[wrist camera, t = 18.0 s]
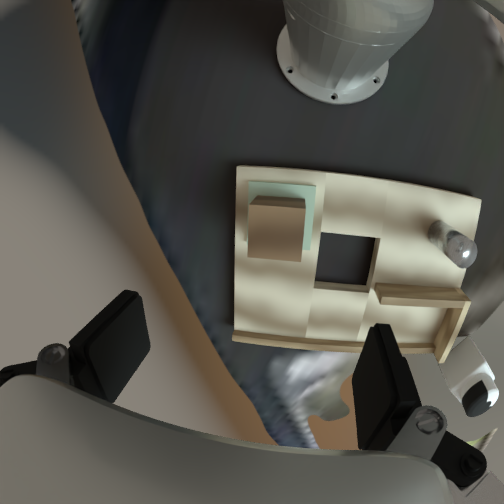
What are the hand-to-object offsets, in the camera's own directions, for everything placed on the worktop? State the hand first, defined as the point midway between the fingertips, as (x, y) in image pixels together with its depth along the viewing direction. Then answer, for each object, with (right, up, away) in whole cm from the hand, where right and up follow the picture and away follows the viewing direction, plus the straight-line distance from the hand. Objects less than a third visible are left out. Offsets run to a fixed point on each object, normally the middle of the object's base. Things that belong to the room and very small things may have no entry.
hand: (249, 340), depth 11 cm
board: (+13, +2, +22) cm, 26 cm away
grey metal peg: (+22, +6, +17) cm, 28 cm away
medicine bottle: (+35, -14, +25) cm, 45 cm away
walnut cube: (+3, +7, +19) cm, 21 cm away
